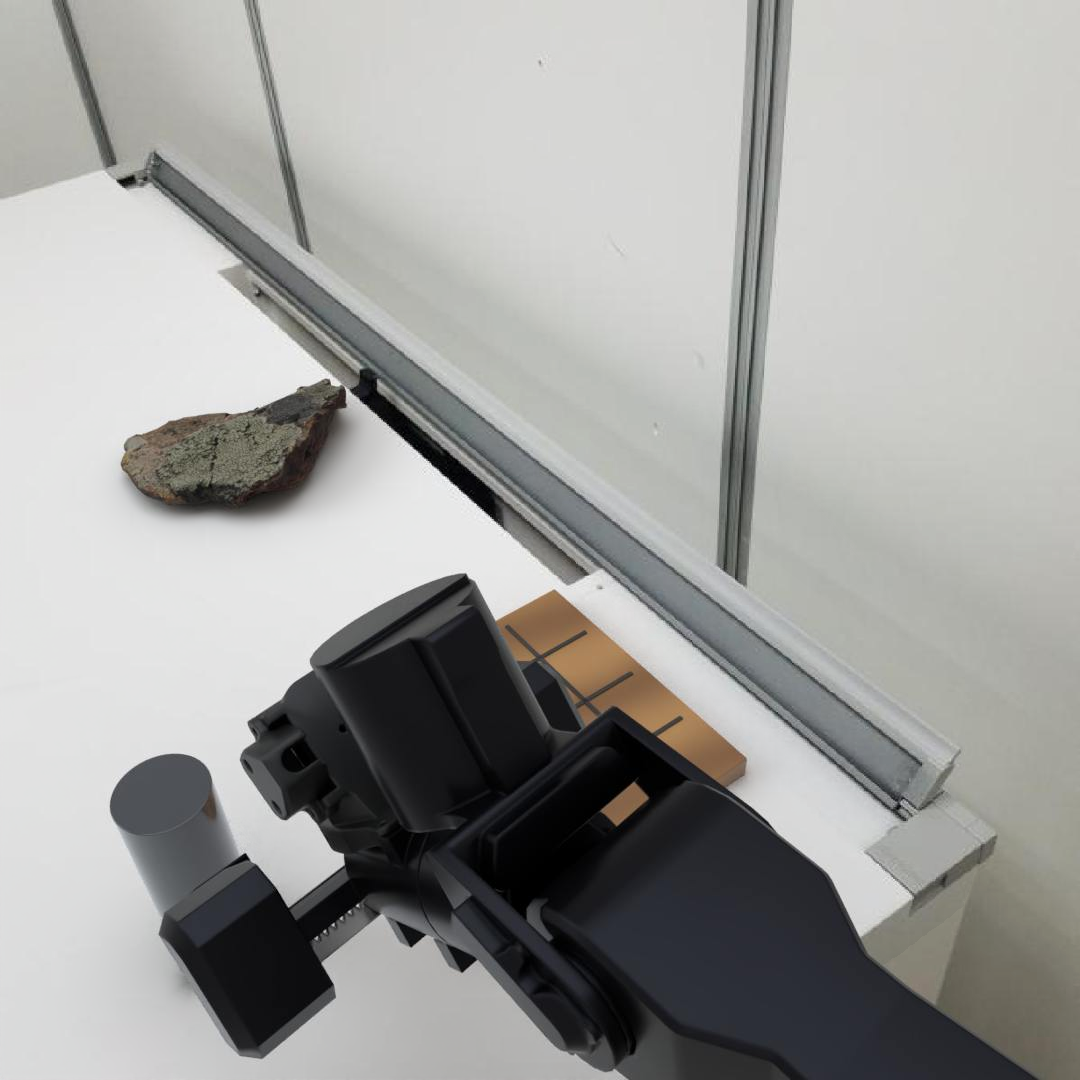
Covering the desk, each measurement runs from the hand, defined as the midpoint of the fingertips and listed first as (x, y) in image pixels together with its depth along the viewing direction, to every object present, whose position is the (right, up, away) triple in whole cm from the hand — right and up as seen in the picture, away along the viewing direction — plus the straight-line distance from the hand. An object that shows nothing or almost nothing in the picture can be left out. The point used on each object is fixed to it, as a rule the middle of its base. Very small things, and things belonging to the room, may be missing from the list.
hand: (323, 815), depth 53 cm
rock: (-16, +19, +47) cm, 53 cm away
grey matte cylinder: (-8, -10, +12) cm, 17 cm away
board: (+9, -1, +21) cm, 23 cm away
